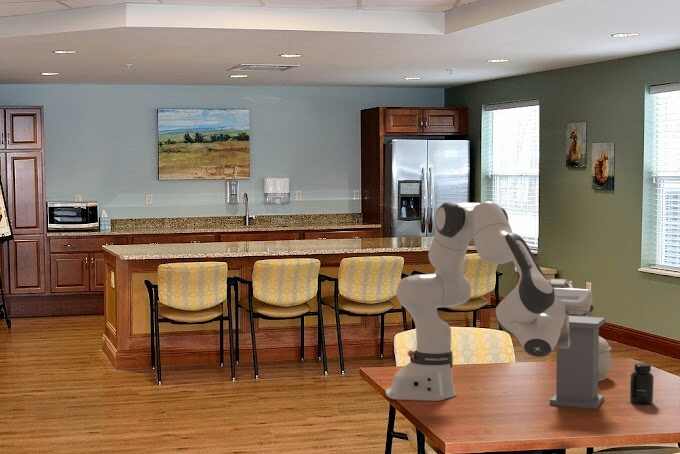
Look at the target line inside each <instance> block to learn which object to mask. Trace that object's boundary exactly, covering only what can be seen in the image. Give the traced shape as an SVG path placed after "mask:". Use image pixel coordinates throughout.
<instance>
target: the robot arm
mask: <svg viewBox="0 0 680 454" xmlns="http://www.w3.org/2000/svg"><path fill="white" fill-rule="evenodd" d="M434 220H435V221H434V222H435V228H436V229H435V232H434V235H433V238H432V241H431V243H430V247H429V249H428V250H429V251H428V255H427V256H428V260H429V263H430V264H431V266H432V267H434V268H435V269H436V270H435V271H434V272H433V273H425V274H424V273H423V274H413V275H410V276H406V277H403V278H401V280H400V281H399V282H398V283H397V287H396V298H397V300H398V302H399V303H400V305H401V306H402V307H404V309H406V310H407V311H408V313H409V314H410V315H411V318H412V320H413V322H414V325H415V333H416V349H415V350H414V351H413V350H412V349H410V350H409V349H408V351H407V356H408V357H409V360H410V362H408V363H407V364H406V365H405V366H403V367H402V368H401V369H399V370H397V372H395V374H394V376H393V378H392V379H393V380H392V384H391V385H392V386H389V387H388V388H386V389H385V396H386V397H388V398H389V399H391V400H401V401H402V400H403V401H427V402H428V401H431V402H432V401H433V402H434V401H435V402H440V401H443V400H445V399H450V398H454V397H455V396H456V395H457V393H456V390H455V386H454V380H453V379H454V378H453V373H452V372H453V371H452V370H453V364H454V362H453V361H454V354H453V351H452V328H451V326H450V324H448V322H447V321H445V320H443V319H442V318H440V316H439V314H438V309H439V308H440V309H441V308H451V307H452V308H453V307H457V306H460V305H462V304H465V303H467V302H468V301H469V299H470V298H471V294H472V285H471V282H470V279H468V277H467V276H466V275H465V274H464V271H463V264H464V261H465V257H466V254H467V251H468V248H469V245H470V242H471V240H473V241H474V242H473V243H474V247H475V249H476V252H477V254H478V256H479V257H480V258H481V260H483V261H484V262H486V263H488V264H492V265H501V264H502V265H503V264H507V263H510V262H512V263H513V265H514V266H515V268H516V270H517V272H518V275H519V280H518V283H517V284H516V286H515V287H514V288H513V289H512V290H511V291H510V292H508V294H507V295H506V296H505V297H503V299H502V300H501V301H500V302H498V304H497V305H496V307H495V311H494V312H495V313H494V314H495V320H496V322H497V323H498V325H499V327H500V328H501V330H503V331H505V332H506V333H507V334H509V335H511V336H514V337H516V339H517V340H518V341H519V342H520V344H521V346H522V348H523V351H524V352H525V353H526V354H528V356H531V357H536V358H542V357H546V356H548V355H549V354H551V353H552V352H553V351H554V350H555V349H556V348H555V346H556V344H557V342H558V339H559V336H560V333H561V328H562V326H563V324H564V321H565V317H566V314H568V315H577V316H579V315H583V314H584V313H588V312H589V311H590V306H591V305H593V300H594V299H593V291H591V290H590V289H588V288H587V289H585V288H574V286H573V281H572V280H566V288H553V286H552V284H551V283H550V281H551V279H548V278H547V276H546V275H545V274H544V273H543V271H542V268H541V267H540V266H539V263H538V261H537V259H536V257H535V256H534V254H533V252H532V250H531V248H530V247H529V245H528V244H527V242H526V241H525V239H524V238H523V237H522V236H521V235H519V234H517V233H513V230H512V227H511V224H510V223H509V215H508V213H507V211H506V210H505V208H503V207H502V206H500V205H499V204H498V203H495V202H493V201H482V202H473V201H472V202H463V201H462V202H455V201H448V202H444V203H443V202H442V203H441V205H440V206H439V207H438V208H437V210H436V214H435V219H434Z"/></svg>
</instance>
